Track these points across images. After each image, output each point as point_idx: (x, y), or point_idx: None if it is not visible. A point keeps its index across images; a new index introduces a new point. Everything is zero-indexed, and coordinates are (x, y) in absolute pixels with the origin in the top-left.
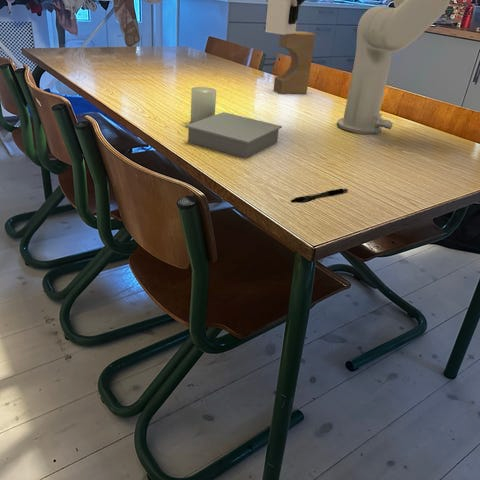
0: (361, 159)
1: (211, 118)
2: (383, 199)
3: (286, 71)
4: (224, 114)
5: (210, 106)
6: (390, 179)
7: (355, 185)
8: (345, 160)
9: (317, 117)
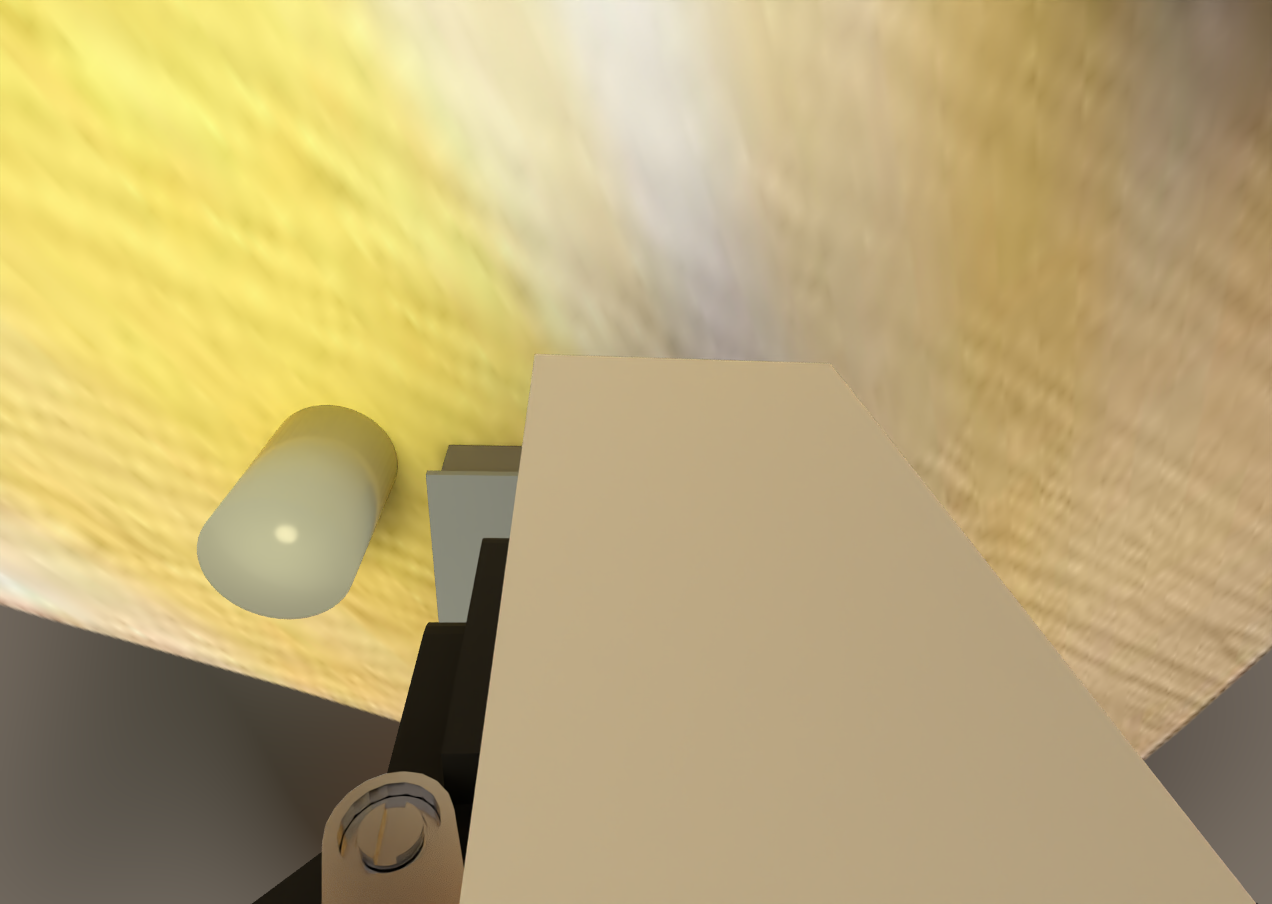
0: (1113, 413)
1: (456, 595)
2: (1151, 671)
3: None
4: (456, 505)
5: (371, 536)
6: (1200, 533)
7: (1077, 638)
8: (1046, 466)
9: None
